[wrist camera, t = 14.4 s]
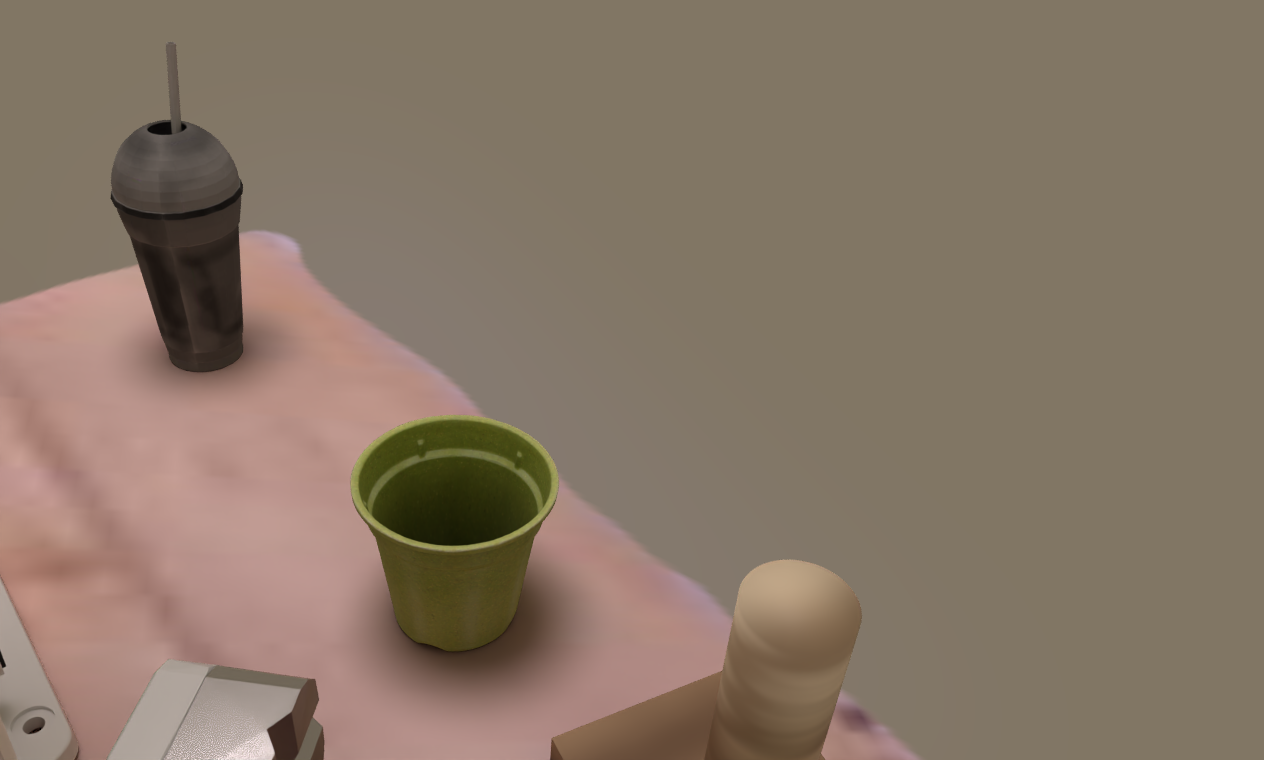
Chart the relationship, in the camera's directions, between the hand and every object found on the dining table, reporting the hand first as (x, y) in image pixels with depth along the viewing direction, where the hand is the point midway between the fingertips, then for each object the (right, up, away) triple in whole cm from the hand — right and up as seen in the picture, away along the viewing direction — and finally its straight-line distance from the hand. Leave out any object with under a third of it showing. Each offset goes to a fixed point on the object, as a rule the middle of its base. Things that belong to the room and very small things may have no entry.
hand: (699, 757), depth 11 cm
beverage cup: (-28, +6, +59) cm, 66 cm away
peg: (+3, -16, +33) cm, 37 cm away
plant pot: (-9, -8, +43) cm, 45 cm away
